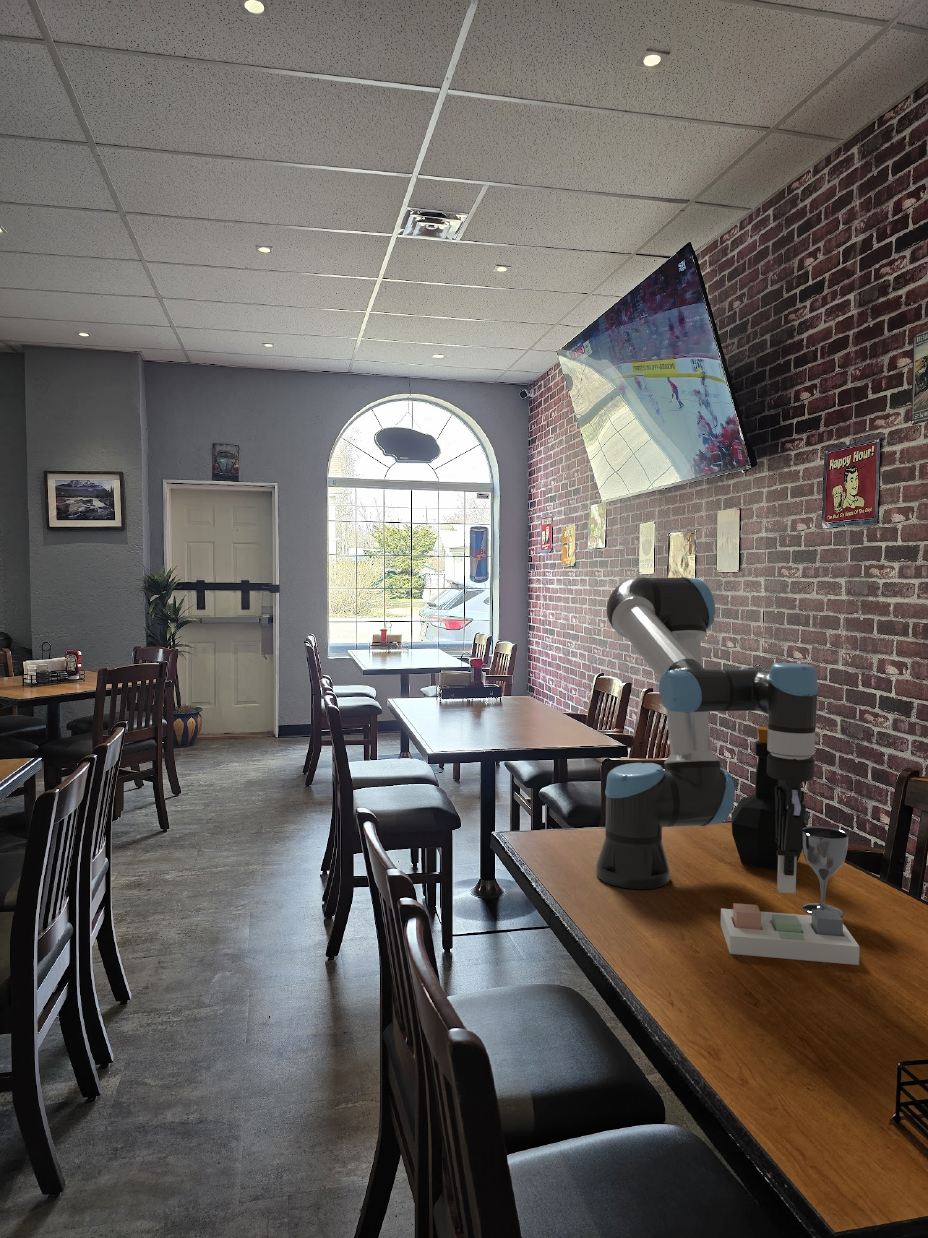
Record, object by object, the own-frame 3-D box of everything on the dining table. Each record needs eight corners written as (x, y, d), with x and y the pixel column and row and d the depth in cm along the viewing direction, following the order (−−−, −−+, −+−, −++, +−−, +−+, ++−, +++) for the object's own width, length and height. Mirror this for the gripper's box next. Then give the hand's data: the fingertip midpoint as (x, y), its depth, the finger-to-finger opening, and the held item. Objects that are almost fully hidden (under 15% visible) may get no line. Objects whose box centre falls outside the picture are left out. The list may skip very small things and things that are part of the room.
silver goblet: (845, 907, 156) (847, 829, 155) (845, 922, 149) (848, 841, 148) (800, 900, 159) (802, 824, 159) (799, 914, 152) (801, 835, 152)
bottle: (741, 845, 194) (744, 720, 193) (814, 859, 184) (817, 727, 183) (719, 863, 181) (721, 728, 180) (796, 879, 171) (800, 737, 170)
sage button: (776, 942, 137) (776, 923, 137) (771, 932, 141) (772, 914, 141) (801, 944, 137) (801, 925, 137) (795, 934, 141) (796, 916, 140)
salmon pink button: (736, 930, 138) (736, 912, 138) (732, 921, 142) (733, 903, 142) (760, 932, 138) (761, 914, 138) (756, 923, 142) (757, 905, 142)
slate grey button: (817, 937, 136) (817, 918, 136) (811, 927, 140) (811, 909, 140) (842, 939, 135) (843, 920, 135) (836, 929, 139) (836, 911, 139)
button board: (730, 953, 135) (730, 934, 135) (720, 925, 147) (720, 907, 147) (859, 965, 131) (859, 945, 131) (838, 934, 143) (839, 916, 143)
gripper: (824, 764, 131) (818, 908, 132) (805, 748, 144) (800, 879, 145) (775, 761, 132) (770, 904, 133) (760, 746, 145) (756, 876, 146)
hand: (786, 891), depth 139 cm, fingers closed
